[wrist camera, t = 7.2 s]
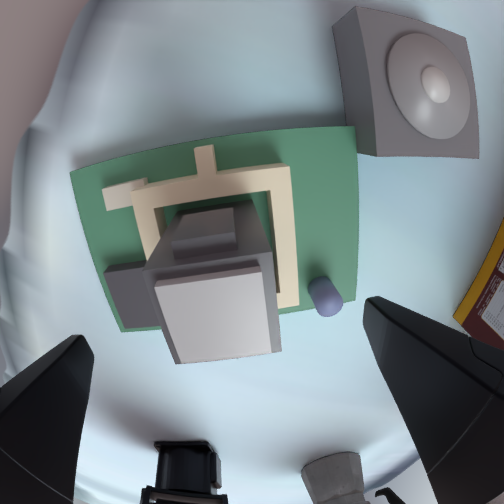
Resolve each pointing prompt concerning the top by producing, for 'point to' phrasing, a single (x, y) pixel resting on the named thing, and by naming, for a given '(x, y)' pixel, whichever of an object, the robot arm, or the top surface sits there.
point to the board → (225, 191)
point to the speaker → (406, 86)
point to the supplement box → (486, 298)
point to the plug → (215, 284)
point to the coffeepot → (339, 481)
